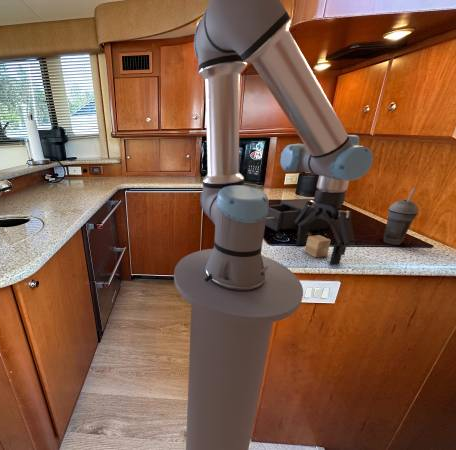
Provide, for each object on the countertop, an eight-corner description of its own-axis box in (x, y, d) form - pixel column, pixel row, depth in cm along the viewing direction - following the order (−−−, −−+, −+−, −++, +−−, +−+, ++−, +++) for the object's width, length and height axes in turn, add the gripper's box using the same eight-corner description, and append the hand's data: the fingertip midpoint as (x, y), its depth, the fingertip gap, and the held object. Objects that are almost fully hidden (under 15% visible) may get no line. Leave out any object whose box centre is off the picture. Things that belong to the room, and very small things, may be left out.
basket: (263, 232, 94) (266, 214, 91) (247, 223, 104) (250, 206, 102) (305, 228, 97) (309, 210, 95) (286, 219, 108) (289, 202, 105)
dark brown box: (298, 231, 96) (302, 209, 93) (277, 221, 108) (280, 201, 105) (328, 228, 99) (334, 206, 96) (305, 218, 111) (309, 198, 107)
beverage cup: (396, 238, 88) (416, 185, 81) (411, 247, 81) (434, 189, 74) (373, 237, 89) (390, 184, 82) (386, 245, 83) (406, 189, 76)
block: (315, 257, 76) (319, 241, 74) (304, 251, 80) (308, 236, 78) (326, 256, 77) (330, 240, 75) (315, 250, 81) (319, 235, 79)
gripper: (386, 198, 60) (363, 271, 68) (308, 182, 83) (297, 237, 91) (362, 201, 59) (341, 274, 66) (290, 183, 82) (280, 239, 89)
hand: (316, 253), depth 78 cm, fingers open, 13 cm apart
